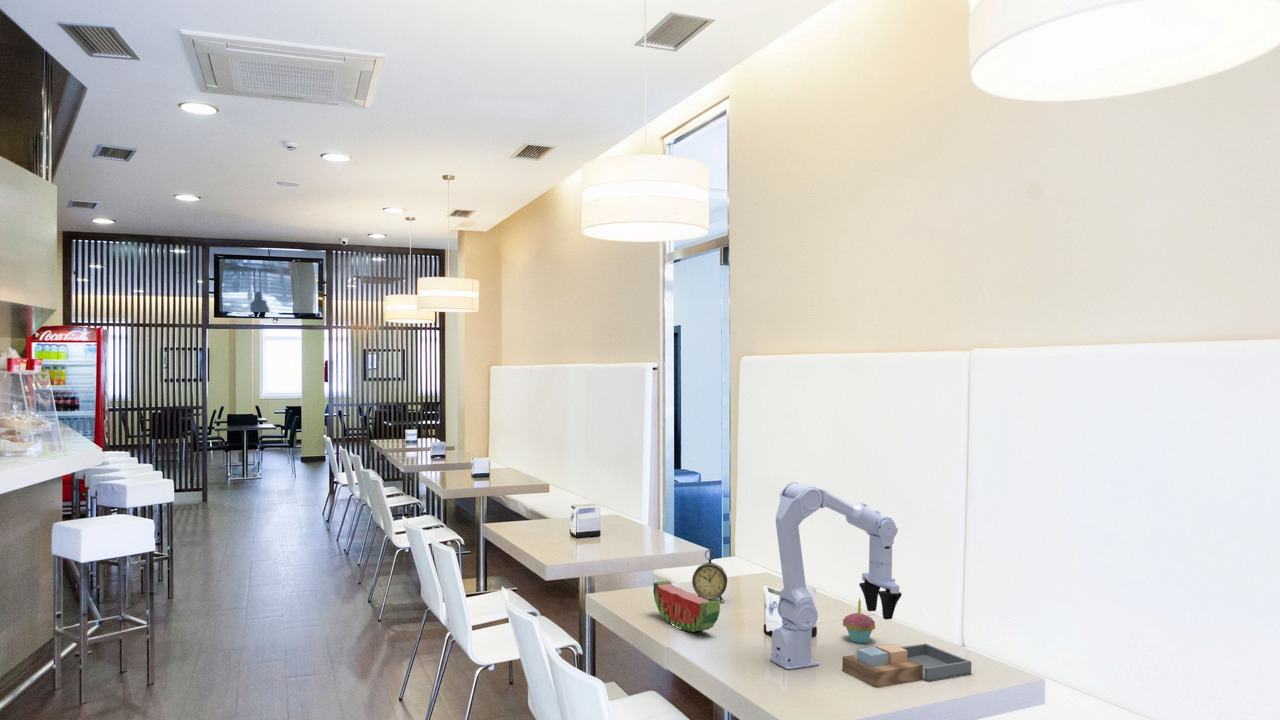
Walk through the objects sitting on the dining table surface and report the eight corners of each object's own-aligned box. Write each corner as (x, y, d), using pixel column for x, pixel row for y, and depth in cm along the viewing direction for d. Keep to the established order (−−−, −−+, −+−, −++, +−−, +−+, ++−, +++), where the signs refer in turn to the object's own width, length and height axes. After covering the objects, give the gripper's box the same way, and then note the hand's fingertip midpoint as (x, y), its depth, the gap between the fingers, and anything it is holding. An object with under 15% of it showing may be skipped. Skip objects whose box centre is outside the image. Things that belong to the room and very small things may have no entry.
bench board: (876, 687, 189) (876, 672, 189) (842, 670, 200) (842, 656, 200) (922, 679, 195) (922, 665, 195) (887, 663, 206) (887, 649, 206)
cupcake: (876, 646, 220) (876, 600, 220) (843, 643, 221) (843, 598, 222) (873, 636, 228) (874, 593, 228) (842, 634, 230) (842, 590, 230)
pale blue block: (871, 666, 193) (871, 655, 193) (857, 660, 198) (857, 649, 198) (887, 664, 195) (887, 653, 195) (873, 657, 200) (873, 646, 200)
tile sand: (891, 663, 196) (891, 652, 196) (876, 657, 200) (876, 646, 200) (907, 661, 198) (907, 650, 198) (892, 654, 202) (892, 644, 202)
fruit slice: (651, 616, 243) (652, 582, 244) (669, 614, 247) (670, 580, 247) (702, 641, 221) (703, 603, 221) (721, 638, 224) (722, 601, 224)
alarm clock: (691, 602, 261) (692, 550, 261) (693, 597, 266) (694, 547, 267) (726, 604, 259) (727, 552, 259) (727, 600, 264) (728, 549, 265)
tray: (927, 681, 194) (927, 668, 194) (883, 661, 207) (883, 649, 207) (971, 674, 200) (971, 661, 200) (925, 655, 213) (925, 643, 213)
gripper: (910, 567, 208) (909, 621, 208) (878, 555, 222) (877, 606, 222) (885, 568, 207) (884, 623, 206) (855, 556, 221) (854, 607, 220)
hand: (879, 614), depth 214 cm, fingers open, 7 cm apart
